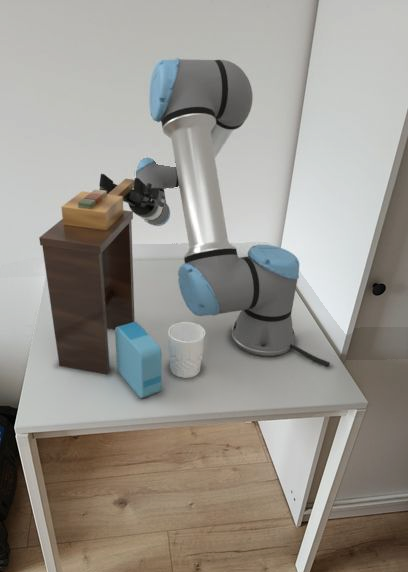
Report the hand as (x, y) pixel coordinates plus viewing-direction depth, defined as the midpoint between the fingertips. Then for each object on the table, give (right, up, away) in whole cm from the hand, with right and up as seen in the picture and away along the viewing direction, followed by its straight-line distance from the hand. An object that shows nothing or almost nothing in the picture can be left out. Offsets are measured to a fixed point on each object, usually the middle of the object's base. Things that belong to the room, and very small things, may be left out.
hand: (118, 182), depth 113 cm
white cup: (+15, -42, 0) cm, 45 cm away
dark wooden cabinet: (-5, -37, +5) cm, 38 cm away
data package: (+5, -45, -5) cm, 45 cm away
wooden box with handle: (-1, -6, -3) cm, 7 cm away
